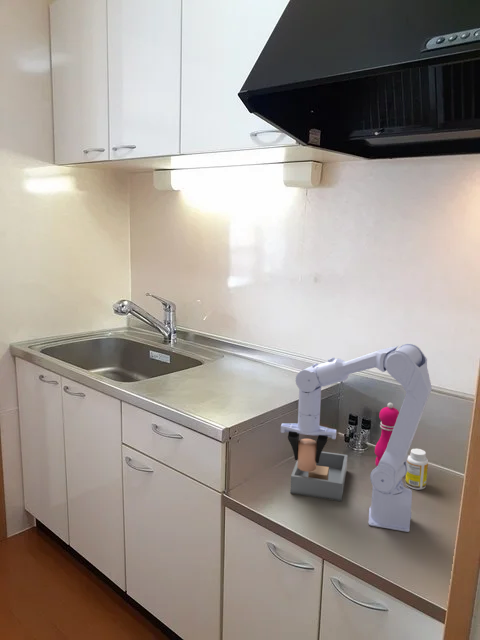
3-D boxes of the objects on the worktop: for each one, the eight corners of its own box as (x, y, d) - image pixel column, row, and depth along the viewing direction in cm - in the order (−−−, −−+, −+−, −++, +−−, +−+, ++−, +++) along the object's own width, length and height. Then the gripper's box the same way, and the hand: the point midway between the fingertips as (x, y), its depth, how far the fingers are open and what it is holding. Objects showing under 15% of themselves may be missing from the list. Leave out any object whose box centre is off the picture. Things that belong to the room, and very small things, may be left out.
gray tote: (346, 470, 149) (347, 454, 148) (341, 501, 132) (342, 483, 131) (300, 464, 152) (301, 448, 151) (290, 493, 136) (290, 476, 135)
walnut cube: (328, 483, 140) (328, 467, 139) (326, 492, 135) (327, 475, 134) (310, 481, 141) (310, 464, 140) (307, 489, 136) (308, 472, 135)
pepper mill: (395, 473, 148) (400, 408, 144) (370, 467, 151) (375, 404, 147) (400, 463, 154) (405, 401, 150) (377, 457, 157) (381, 397, 154)
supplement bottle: (420, 480, 144) (423, 446, 142) (429, 490, 138) (432, 455, 136) (401, 480, 143) (404, 447, 141) (410, 491, 138) (413, 456, 136)
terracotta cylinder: (317, 464, 137) (318, 440, 135) (314, 472, 132) (315, 448, 130) (299, 461, 138) (299, 437, 136) (295, 469, 133) (296, 445, 132)
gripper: (338, 409, 134) (335, 457, 136) (284, 403, 138) (283, 450, 140) (336, 419, 127) (333, 468, 130) (279, 412, 131) (278, 461, 134)
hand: (307, 459), depth 135 cm, fingers closed on terracotta cylinder, 5 cm apart
